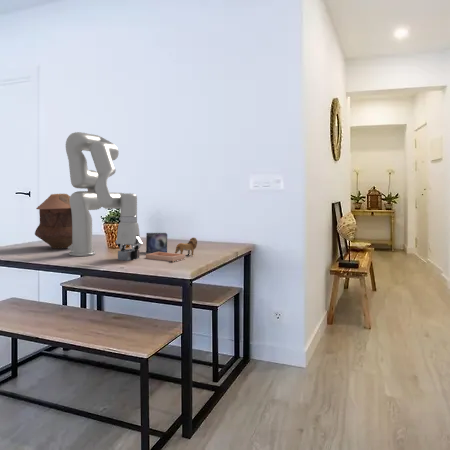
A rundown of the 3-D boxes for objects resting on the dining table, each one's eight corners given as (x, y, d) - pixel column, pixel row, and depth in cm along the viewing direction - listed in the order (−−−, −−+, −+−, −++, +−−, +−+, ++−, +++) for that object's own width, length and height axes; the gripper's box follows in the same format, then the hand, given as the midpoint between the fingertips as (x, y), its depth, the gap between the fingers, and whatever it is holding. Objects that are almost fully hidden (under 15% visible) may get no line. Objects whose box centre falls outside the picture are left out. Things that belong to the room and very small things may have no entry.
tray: (145, 259, 193) (145, 254, 193) (158, 256, 202) (158, 251, 202) (172, 262, 186) (173, 257, 186) (184, 259, 196) (184, 254, 195)
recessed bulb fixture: (117, 259, 187) (117, 251, 187) (129, 257, 195) (129, 248, 195) (127, 260, 185) (127, 252, 185) (139, 258, 193) (139, 249, 192)
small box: (146, 254, 209) (146, 234, 208) (145, 252, 215) (145, 232, 214) (167, 253, 212) (167, 233, 211) (165, 251, 218) (166, 232, 217)
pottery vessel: (93, 245, 237) (92, 193, 234) (72, 251, 212) (71, 194, 209) (50, 244, 239) (50, 193, 237) (25, 250, 214) (24, 193, 212)
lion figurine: (192, 253, 213) (192, 236, 212) (199, 255, 210) (200, 237, 209) (171, 256, 202) (171, 238, 201) (178, 258, 199) (178, 239, 198)
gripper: (108, 219, 189) (109, 258, 190) (138, 221, 181) (138, 261, 183) (119, 218, 196) (119, 255, 197) (148, 220, 188) (148, 259, 190)
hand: (128, 258), depth 190 cm, fingers closed on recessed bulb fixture, 5 cm apart
